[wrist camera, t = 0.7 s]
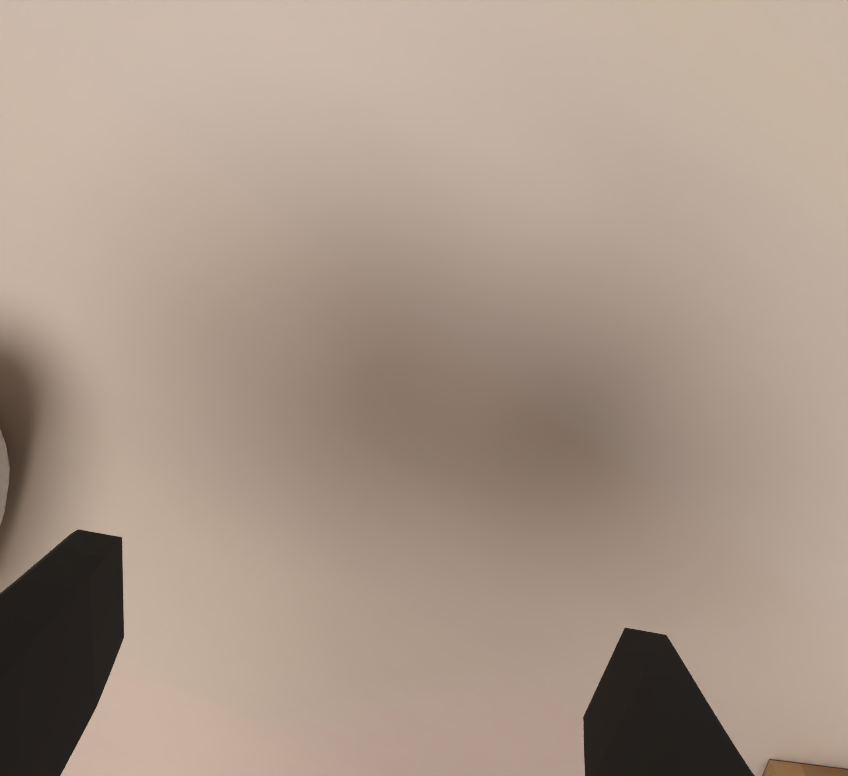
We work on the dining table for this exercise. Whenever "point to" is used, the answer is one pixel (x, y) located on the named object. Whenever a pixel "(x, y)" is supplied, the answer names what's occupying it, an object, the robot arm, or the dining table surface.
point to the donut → (3, 475)
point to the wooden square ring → (800, 770)
